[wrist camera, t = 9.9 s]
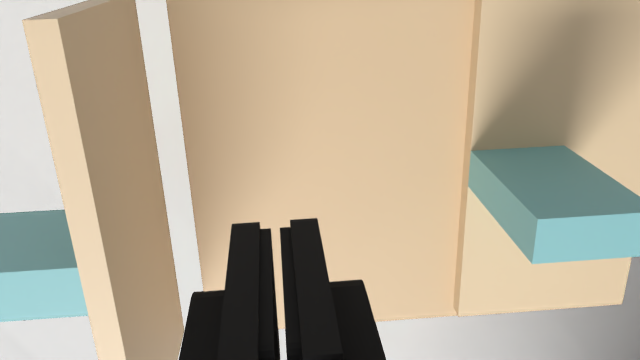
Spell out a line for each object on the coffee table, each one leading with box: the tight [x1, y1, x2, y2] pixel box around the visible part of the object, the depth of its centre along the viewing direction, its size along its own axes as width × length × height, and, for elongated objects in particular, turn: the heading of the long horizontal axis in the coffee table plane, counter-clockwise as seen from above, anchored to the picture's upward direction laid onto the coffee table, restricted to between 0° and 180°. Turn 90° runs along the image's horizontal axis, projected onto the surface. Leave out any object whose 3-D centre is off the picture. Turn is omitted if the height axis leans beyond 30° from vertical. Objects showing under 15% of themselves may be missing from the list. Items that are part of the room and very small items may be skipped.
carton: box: [166, 0, 640, 329], centre depth 21 cm, size 12×15×17 cm
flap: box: [0, 0, 184, 360], centre depth 15 cm, size 11×6×5 cm
